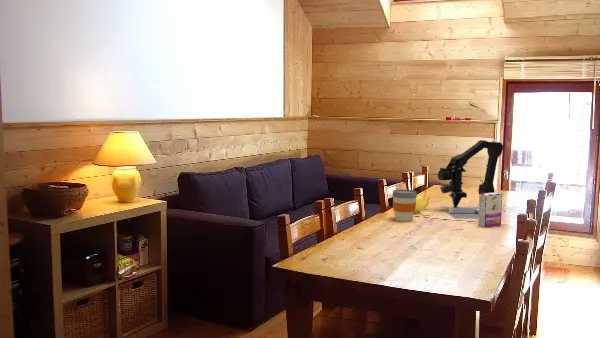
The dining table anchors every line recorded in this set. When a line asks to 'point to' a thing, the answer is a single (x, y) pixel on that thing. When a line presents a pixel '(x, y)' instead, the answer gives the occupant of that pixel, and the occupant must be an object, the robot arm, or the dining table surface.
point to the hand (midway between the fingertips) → (455, 207)
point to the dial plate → (464, 215)
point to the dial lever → (463, 210)
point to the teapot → (421, 204)
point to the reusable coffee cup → (404, 204)
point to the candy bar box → (490, 209)
